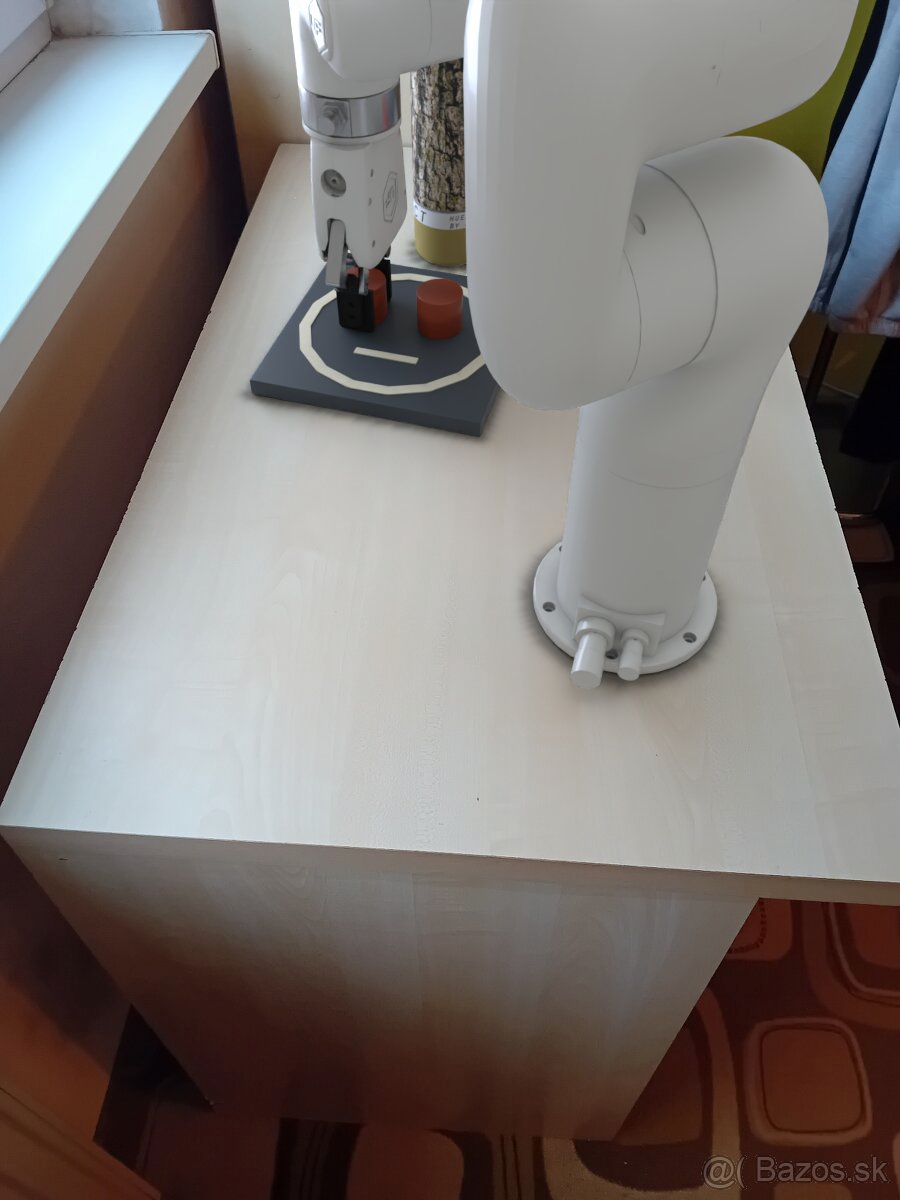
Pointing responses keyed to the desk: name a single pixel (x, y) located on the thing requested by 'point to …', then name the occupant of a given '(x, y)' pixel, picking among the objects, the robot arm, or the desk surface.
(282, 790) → the desk surface
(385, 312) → the eye disc
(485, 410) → the face board
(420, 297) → the eye disc
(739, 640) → the desk surface
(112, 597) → the desk surface
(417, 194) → the paper tube
